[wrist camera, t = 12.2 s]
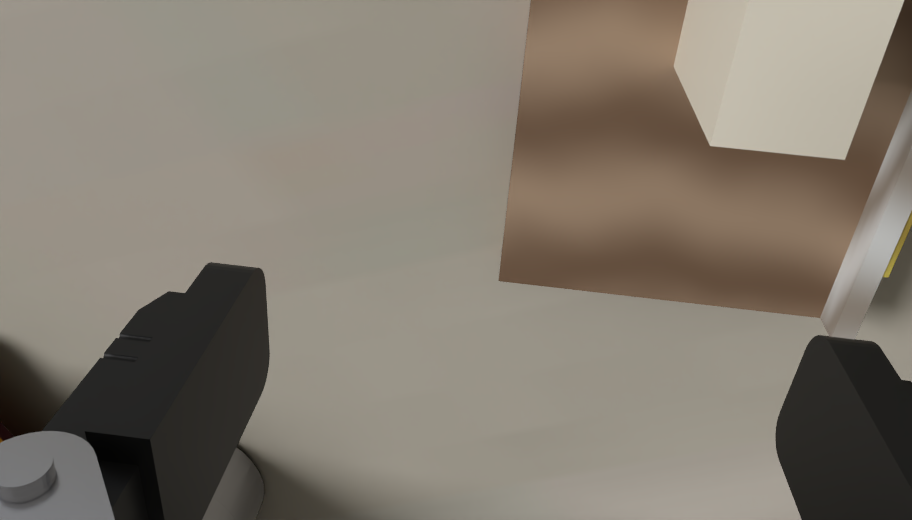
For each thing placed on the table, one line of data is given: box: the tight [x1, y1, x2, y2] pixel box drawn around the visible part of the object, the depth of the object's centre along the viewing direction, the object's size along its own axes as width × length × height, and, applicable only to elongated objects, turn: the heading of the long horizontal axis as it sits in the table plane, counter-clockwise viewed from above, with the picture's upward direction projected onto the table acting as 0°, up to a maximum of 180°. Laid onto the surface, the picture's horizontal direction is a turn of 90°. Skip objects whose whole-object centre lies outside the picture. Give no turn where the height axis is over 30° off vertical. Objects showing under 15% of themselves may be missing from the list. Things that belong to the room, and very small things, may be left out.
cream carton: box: [674, 0, 904, 160], centre depth 24 cm, size 6×4×8 cm
